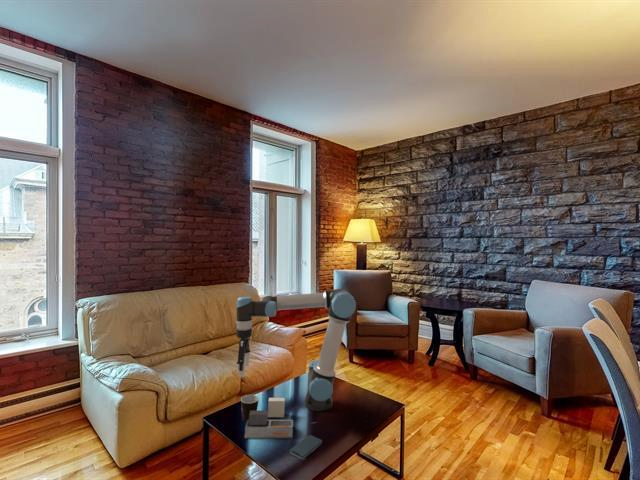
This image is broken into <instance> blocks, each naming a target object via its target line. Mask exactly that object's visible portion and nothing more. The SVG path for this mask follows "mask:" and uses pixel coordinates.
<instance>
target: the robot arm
mask: <svg viewBox="0 0 640 480" xmlns="http://www.w3.org/2000/svg"><path fill="white" fill-rule="evenodd" d="M356 306H357V304H356V300H355V297H354V296H353V295H352V294H351V293H350V291H348V290H347V289H344V288H335V289H328V290H324V291H323V292H314V293H312V292H311V293H304V294H303V293H300V294H289V295H277V296H274V295H273V296H272V295H266V296H264V297H263V298H262V299H261V301H259V300H258V301H257V300H256V301H255V300H253V297H251V296H239V297H238V298H237V299H236V321H235V324H236V329H235V330H236V333H235V334H236V337H237V338H239V339H240V340H239V342H238V352H237V353H238V355H237V356H238V357H237V361H236V365H238V367H237V369H238V370H237V371H238V372H237V373H238V374H237V375H238V377H237V378H245V367H250V365H249V364H250V361H249V360H250V356H249V355H250V353H251V349H250V339H249V338H251V337H252V335H253V329H252V327H253V317H255V318H256V317H261V318H262V317H265V318H267V317H268V318H270V317H275V316H276V315H277V311H282V310H283V311H285V310H287V311H288V310H298V309H309V308H310V309H311V308H312V309H313V308H323V307H324V308H325V309H329V310H328V312H327V316H328V319H329V320H328V323H327V328H326V331H325V334H324V338H323V342H322V346H321V350H320V352H319V356H318V359H315V360H314V359H313V360H311V361H309V363H308V383H307V384H308V386H307V387H308V388H307V391H306V395H305V398H304V406H305V408H306V409H308V410H309V411H310V410H311V411H314V412H323V411H324V410H325V411H328V410H330V409H331V408H332V407H333V396H332V395H333V392H334V386H333V385H334V382H335V381H334V380H335V378H336V371H335V366H336V363H337V358H338V355H339V351H340V348H341V345H342V341H343V336H344V333H345V329H346V326H347V324H348V323H350V322H351V319H352V315H353V314H354V313H355V311H356ZM329 408H330V409H329ZM327 409H328V410H327Z"/></svg>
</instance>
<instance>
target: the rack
mask: <svg viewBox="0 0 640 480" xmlns="http://www.w3.org/2000/svg"><path fill="white" fill-rule="evenodd" d="M268 418H269V417H268V410H257V411H250V414H249V420H247V423H246V424H245V427H244V439H293V434H294V433H293V431H294V428H293V427H294V420H293V419H268Z"/></svg>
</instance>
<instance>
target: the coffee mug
mask: <svg viewBox="0 0 640 480" xmlns="http://www.w3.org/2000/svg"><path fill="white" fill-rule="evenodd" d="M259 399H260V397H259V396H258V395H256V394H247V395H244V396H242V397H241V398H240V405H241V417H242V418H241V419H242V422H243V421H244V422H243V423H247V420H249V414H250V411H258V406H259Z"/></svg>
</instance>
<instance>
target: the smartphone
mask: <svg viewBox="0 0 640 480" xmlns="http://www.w3.org/2000/svg"><path fill="white" fill-rule="evenodd" d="M322 444H323V440H322V439H320V438H318V437H316V436H313V435H311V434H310V435H307V436H306V437H305V438H304V439H302V440H301V441H300V442H298V443H297V444H295V445H294V446H293V447H291V448H290V449H289V454H290V455H292V456H294V457H295V458H298V459H300V460H305V458H306V457H308V456H309V455H311V454H312V453H313V452H314V451H315V450H316V449H318V447H320V446H321V445H322Z"/></svg>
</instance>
